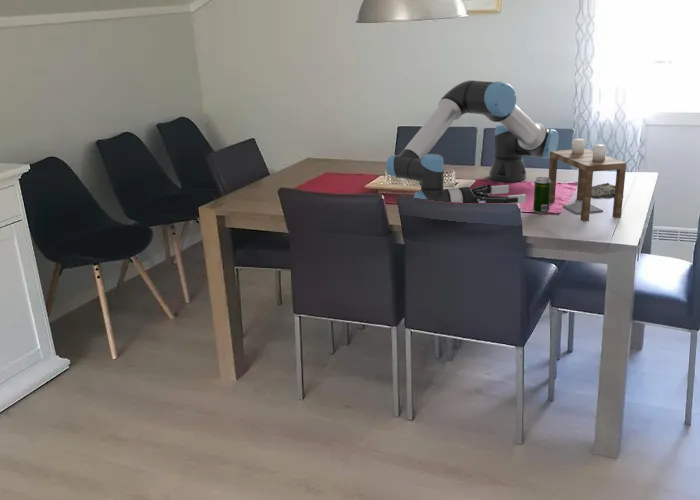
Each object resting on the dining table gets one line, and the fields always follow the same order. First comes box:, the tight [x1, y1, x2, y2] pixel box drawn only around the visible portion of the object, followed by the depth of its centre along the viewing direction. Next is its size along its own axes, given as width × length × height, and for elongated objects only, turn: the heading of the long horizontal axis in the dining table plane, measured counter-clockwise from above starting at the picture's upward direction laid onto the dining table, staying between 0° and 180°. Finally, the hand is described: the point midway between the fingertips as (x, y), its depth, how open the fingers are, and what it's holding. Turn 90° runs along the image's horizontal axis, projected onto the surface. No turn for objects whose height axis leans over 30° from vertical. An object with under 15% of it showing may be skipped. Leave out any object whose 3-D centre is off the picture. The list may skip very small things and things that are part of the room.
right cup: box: [592, 143, 607, 161], centre depth 242 cm, size 4×4×5 cm
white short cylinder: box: [571, 137, 586, 155], centre depth 253 cm, size 4×4×5 cm
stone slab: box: [591, 182, 615, 199], centre depth 274 cm, size 12×17×3 cm
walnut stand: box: [548, 147, 627, 222], centre depth 252 cm, size 26×14×19 cm, turn 13°
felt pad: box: [562, 203, 604, 215], centre depth 255 cm, size 10×10×1 cm
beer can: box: [532, 176, 551, 215], centre depth 252 cm, size 5×5×12 cm
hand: (516, 193), depth 249 cm, fingers open, 13 cm apart
